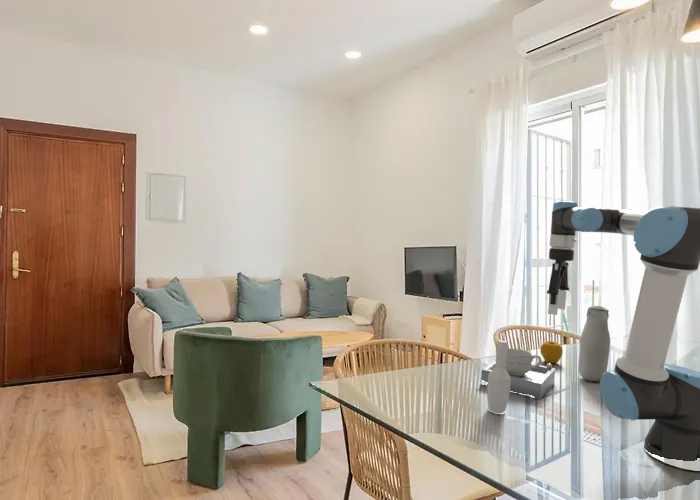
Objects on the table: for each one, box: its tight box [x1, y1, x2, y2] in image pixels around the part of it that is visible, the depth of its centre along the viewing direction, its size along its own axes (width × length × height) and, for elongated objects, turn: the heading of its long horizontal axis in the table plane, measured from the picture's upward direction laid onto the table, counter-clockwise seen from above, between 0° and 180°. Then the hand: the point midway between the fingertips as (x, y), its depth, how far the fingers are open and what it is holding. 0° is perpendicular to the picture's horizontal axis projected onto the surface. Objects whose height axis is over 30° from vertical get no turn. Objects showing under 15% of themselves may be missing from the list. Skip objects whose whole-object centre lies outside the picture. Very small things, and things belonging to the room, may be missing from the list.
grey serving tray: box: [480, 359, 556, 401], centre depth 174 cm, size 20×20×7 cm
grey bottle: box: [578, 305, 611, 382], centre depth 181 cm, size 10×10×28 cm
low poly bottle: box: [486, 339, 511, 413], centre depth 148 cm, size 6×6×22 cm
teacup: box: [506, 347, 543, 376], centre depth 173 cm, size 14×11×8 cm
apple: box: [540, 340, 563, 364], centre depth 201 cm, size 9×8×9 cm
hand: (556, 311), depth 164 cm, fingers open, 13 cm apart
